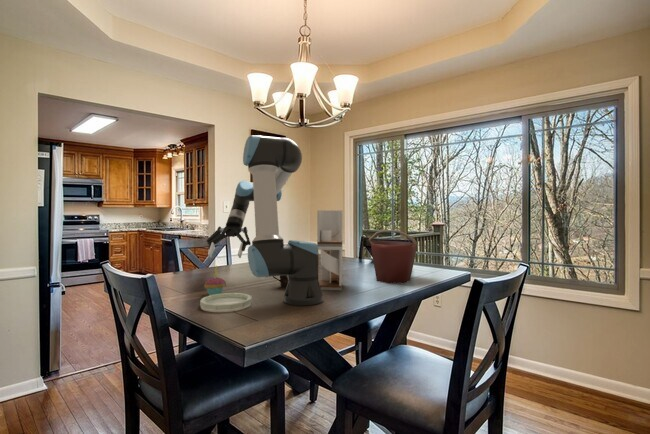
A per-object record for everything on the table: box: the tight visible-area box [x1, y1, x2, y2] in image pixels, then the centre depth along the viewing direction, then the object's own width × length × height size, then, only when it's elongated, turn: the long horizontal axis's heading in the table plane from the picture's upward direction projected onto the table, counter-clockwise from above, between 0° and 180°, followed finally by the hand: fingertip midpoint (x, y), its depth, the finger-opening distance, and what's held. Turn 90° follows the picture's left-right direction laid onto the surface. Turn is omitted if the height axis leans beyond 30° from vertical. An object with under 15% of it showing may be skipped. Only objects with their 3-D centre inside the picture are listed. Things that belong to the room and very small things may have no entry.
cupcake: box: [204, 265, 227, 296], centre depth 146 cm, size 9×8×12 cm
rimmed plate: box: [199, 292, 252, 313], centre depth 130 cm, size 18×18×2 cm
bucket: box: [368, 229, 418, 284], centre depth 178 cm, size 24×22×25 cm
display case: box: [316, 209, 344, 291], centre depth 161 cm, size 11×11×35 cm
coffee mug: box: [272, 275, 288, 289], centre depth 162 cm, size 12×9×10 cm
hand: (224, 255), depth 157 cm, fingers open, 13 cm apart
